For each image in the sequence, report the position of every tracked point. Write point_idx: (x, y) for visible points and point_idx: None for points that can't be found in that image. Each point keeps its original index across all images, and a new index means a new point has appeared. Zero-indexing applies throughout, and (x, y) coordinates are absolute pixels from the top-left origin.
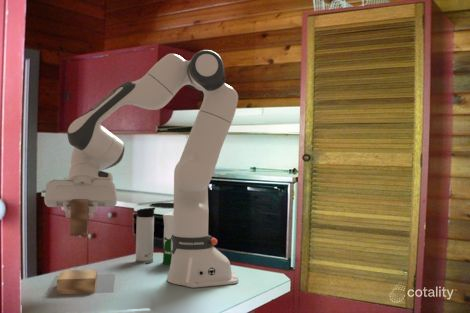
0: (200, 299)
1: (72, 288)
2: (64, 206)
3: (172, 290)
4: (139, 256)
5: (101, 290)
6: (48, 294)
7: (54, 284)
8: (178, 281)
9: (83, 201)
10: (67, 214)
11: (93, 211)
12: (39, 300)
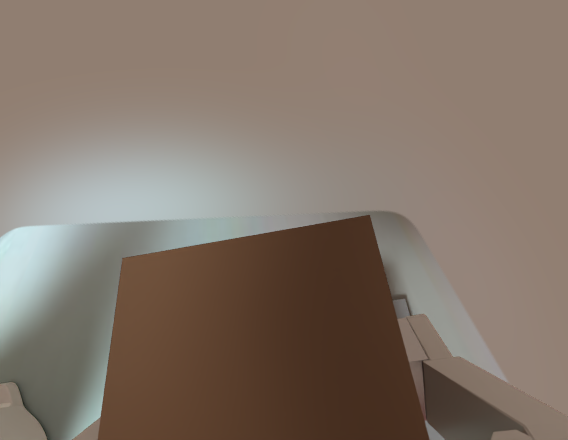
0: (35, 281)
1: None
2: (515, 392)
3: (69, 361)
4: None
5: None
6: (395, 300)
7: (428, 427)
8: (26, 423)
9: (186, 251)
10: (405, 319)
11: None
12: (404, 268)
